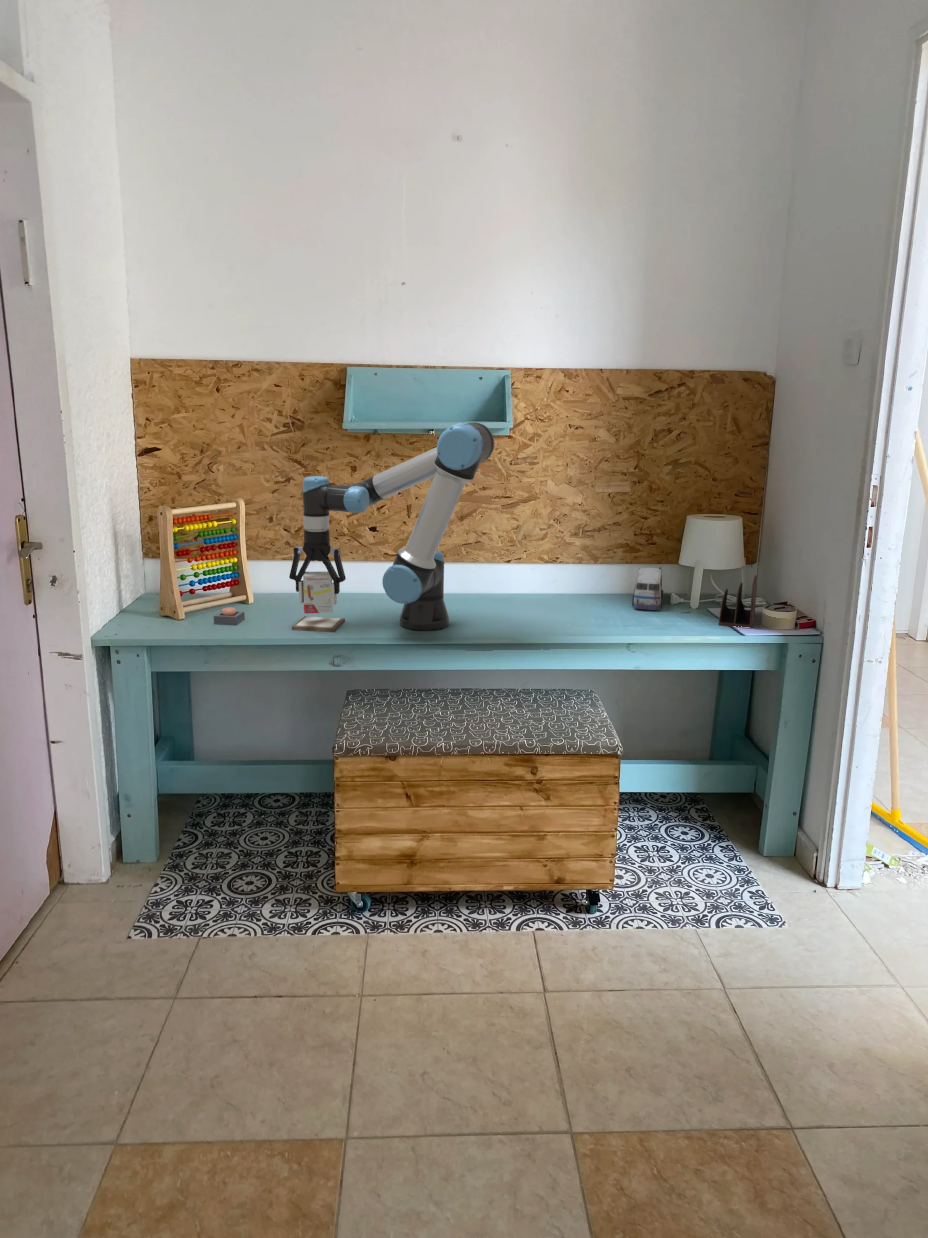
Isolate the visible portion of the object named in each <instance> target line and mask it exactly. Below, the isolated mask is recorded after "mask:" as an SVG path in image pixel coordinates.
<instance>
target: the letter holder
mask: <svg viewBox="0 0 928 1238" xmlns="http://www.w3.org/2000/svg"><path fill="white" fill-rule="evenodd" d="M757 587H758V575H754V577H753V580H752V585H751V597H750V609H745V606H744V604H743V603H744V602H743V601H742V593H743V582H740V583H739V586H738V588H737V593H736V599H735V600H736V601H735V607H734V608H730V607H728V605H727V599H728V594H729V589H728V588H726V589H725V590H724V592H723V595H722V599H721V603H720V611H719V618H718V619H719V620H718V626H723V627H730V628H731V627H733V626H736V627H735V628H740V627H741V626H742V627H751V628H752V627H753V623H754V617H755V613H756V602H757ZM738 626H739V627H738ZM733 628H734V627H733Z"/></svg>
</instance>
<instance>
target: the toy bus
mask: <svg viewBox="0 0 928 1238" xmlns="http://www.w3.org/2000/svg"><path fill="white" fill-rule="evenodd" d="M635 582H636V583H635V587H634V590H633V595H632V601H631V607H632V608H634V609H637V610H652V611H658V610H661V609H662V608H663V601H664V600H663V599H664V589H663V570H662V569H661V568H657V567H645V566H644V567H639V568H638V572H637V578H636V581H635Z"/></svg>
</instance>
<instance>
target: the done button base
mask: <svg viewBox="0 0 928 1238" xmlns="http://www.w3.org/2000/svg"><path fill="white" fill-rule="evenodd" d="M245 619H246V617H245V611H241V610H236V615H235V616H223V615H222V610H221V611H219V612H217V613H216V614H214V615H213V625H227V626H237V625H238V624H240V623H241V622H243V621H244V620H245Z"/></svg>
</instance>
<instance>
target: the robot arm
mask: <svg viewBox="0 0 928 1238" xmlns="http://www.w3.org/2000/svg"><path fill="white" fill-rule="evenodd" d="M495 444H496V443H495V438H494V435H493V433H492V431H491V429H490V428H488V427H487V426H486V425H484V424H483V423H481V422H480V423H479V422H474V421H473V422H466V423H456V424H453V425H451V426H449V427H448V428H446V429H445V430H444V431H443V432H442V433H441V434H440V436H439V438H438V440H437V444H436V447H434V448H432V449H429V450H428V451H425V452H423V453H421V454H418V455H416V456H415V457H412V458H410V459H408V460H405V461H404V462H401V463H398V464H397V465H395V466H392V467H390V468H388V469H386V470H384V471H381V472H379V473H377V474H375V475H373V476H370V477H369V478H367V479H364V480H362V481H359V482H355V483H351V484H348V485H347V484H346V485H340V484H330V480H329V478H328V477H327V476H321V475H319V476H318V475H315V476H313V475H312V476H311V475H310V476H305V477H304V478H303V481H302V492H301V494H302V503H303V504H302V507H303V508H302V509H303V511H302V512H303V529H304V530H303V546H299V545H298V546H295V547H293V558H292V563H291V567H290V572H289V576H288V577H289V580H293V581H295V591H296V592H297V593H298V601H299V602H298V603H299V604H304V587H303V573H304V572H307V568H308V567H309V565H310V563H311V562H315V561H318V562H322V563H323V565H324V567H325V568H326V570H327V571H328V572H329V574H330V576H331V578H332V584H331V588H332V605H333V606H335V605H336V604H337V603H338V602H337V601H338V600H337V599H338V596H337V595H338V594H340V592H341V591H340V590H341V589H340V583H342V582H345V581H346V575H345V570H344V566H343V563H342V559H341V548H339V547H337V548H334V547H332V546H331V545H330V544H331V543H330V530H329V529H330V512H332V511H334V512H346V513H352V514H356V513H360V514H361V513H364V512H366V510H367V509H368V507H370V506H373V505H376V504H378V503H379V502H381V501H383V500H385V499H387V498H390V497H392V496H394V495H397V494H399V493H401V492H403V491H406V490H407V489H410V488H412V487H415V486H416V485H419V484H421V483H423V482H426V481H428V480H430V479H432V478H433V479H432V482H431V485H430V487H429V489H428V491H427V494H426V497H425V499H424V501H423V503H422V507H421V509H420V511H419V513H418V515H417V519H416V521H415V524H414V526H413V528H412V531H411V533H410V535H409V538H408V540H407V543H406V545H405V546H404V547H401V548H399V549H398V551H397V553H396V556H395V558H394V560H393V563H392V565H391V566H389V567H388V568H387V569H386V570H385V572H384V574H383V576H382V588H383V590H384V592H385V594H386V596H387V597H388V598H389V599H390V600H391V601H393V602H394V603H398V604H401V605H403V606H402V609H401V612H400V616H399V625H400V627H402V628H405V629H409V630H413V629H415V631H434V630H433V629H436V630H440V629H439V628H441V629H444V628H443V627H445V628H446V626H447V627H448V626H449V625H450V616H449V613H448V610H447V607H446V603H445V599H444V595H445V594H444V591H445V590H444V587H445V583H444V582H445V581H444V580H445V556H444V553H443V552H442V551H439V549H438V548H439V547H440V544H441V542H442V539H443V536H444V535H445V532H446V529H447V528H448V525H449V523H450V521H451V518H452V516H453V513H454V511H455V508H456V507H457V504H458V501H459V500H460V496H461V495H462V492H463V490H464V487H465V485H466V484H467V483H470V482H471V481H473V480H474V478H475V476H476V473H477V471H478V470H479V466H480V464H483V463H484V462H486V461H487V460H488V459H489V458H490V457H491V456H492V454H493V452H494V449H495ZM302 553H304V554H305V555H306V556H305V558H304V560H303V563H302V565H301V567H300V569H299V571H298V567H299V564H300V558H301V554H302ZM330 553H331V555H332V556H333V558H334V559H333V560H334V564H335V567H336V570H335V568H334V565H333V564H332V562H331V559H330V556H329V554H330ZM297 571H298V573H297ZM336 571H337V572H336Z"/></svg>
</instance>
